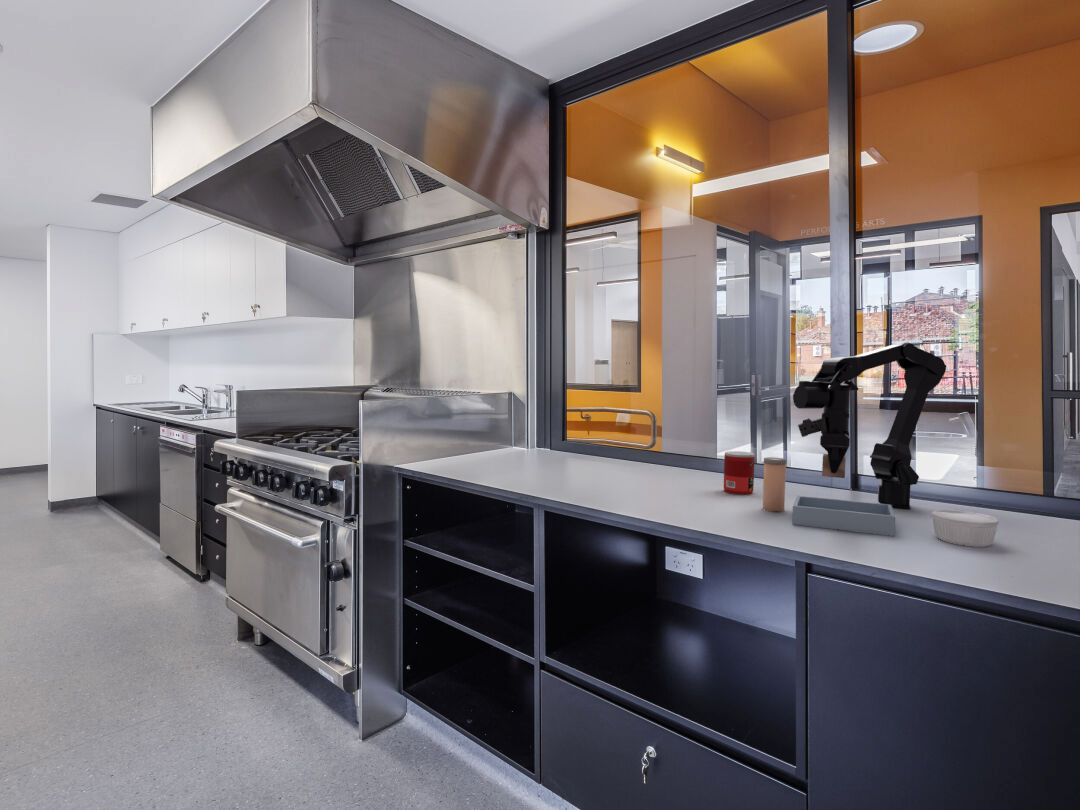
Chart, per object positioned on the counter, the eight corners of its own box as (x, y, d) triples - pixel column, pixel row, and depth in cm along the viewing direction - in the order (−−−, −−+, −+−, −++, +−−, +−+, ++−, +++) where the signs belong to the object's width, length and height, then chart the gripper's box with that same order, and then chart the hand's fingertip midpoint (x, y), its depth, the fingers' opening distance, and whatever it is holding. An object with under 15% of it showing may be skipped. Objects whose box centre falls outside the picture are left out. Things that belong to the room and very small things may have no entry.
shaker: (785, 508, 147) (787, 458, 146) (783, 512, 143) (785, 461, 142) (763, 506, 150) (765, 456, 149) (760, 510, 145) (762, 459, 144)
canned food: (755, 495, 163) (756, 455, 162) (725, 493, 164) (726, 454, 163) (751, 489, 170) (752, 451, 169) (722, 488, 172) (723, 450, 171)
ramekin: (963, 532, 127) (964, 508, 127) (1012, 548, 116) (1014, 521, 116) (917, 534, 125) (918, 509, 125) (963, 550, 114) (964, 523, 114)
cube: (844, 475, 149) (845, 455, 148) (844, 478, 144) (845, 457, 144) (822, 473, 151) (823, 453, 151) (821, 476, 147) (822, 456, 146)
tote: (890, 522, 134) (891, 504, 134) (894, 536, 123) (895, 516, 123) (796, 512, 143) (796, 495, 143) (792, 524, 132) (792, 506, 132)
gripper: (803, 405, 159) (800, 463, 160) (798, 409, 142) (795, 474, 143) (850, 407, 154) (847, 467, 155) (850, 411, 137) (848, 478, 138)
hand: (833, 471), depth 148 cm, fingers closed on cube, 5 cm apart
